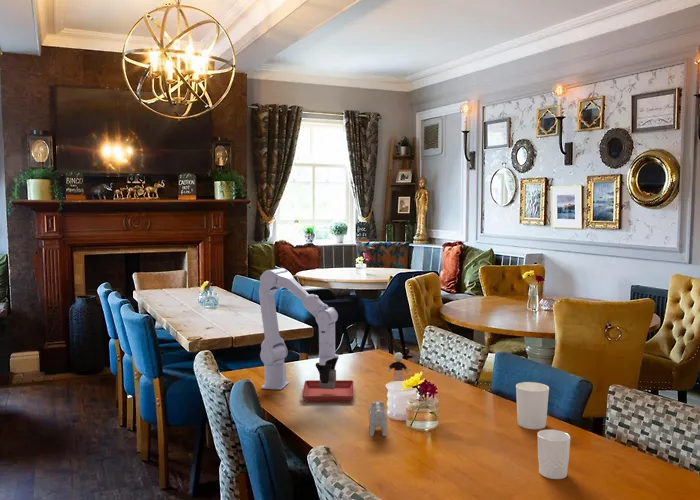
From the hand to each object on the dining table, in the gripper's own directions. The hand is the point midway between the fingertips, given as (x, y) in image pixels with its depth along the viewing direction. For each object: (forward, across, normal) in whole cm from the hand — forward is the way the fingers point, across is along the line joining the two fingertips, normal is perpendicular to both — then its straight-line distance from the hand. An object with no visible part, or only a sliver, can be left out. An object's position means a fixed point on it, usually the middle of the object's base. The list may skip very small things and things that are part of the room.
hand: (327, 380), depth 223 cm
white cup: (+6, -51, -72) cm, 88 cm away
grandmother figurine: (+6, +16, -23) cm, 29 cm away
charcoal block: (+3, 0, 0) cm, 3 cm away
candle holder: (+6, -16, -69) cm, 71 cm away
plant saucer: (+6, 0, 0) cm, 6 cm away
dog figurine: (+6, -32, -24) cm, 40 cm away
